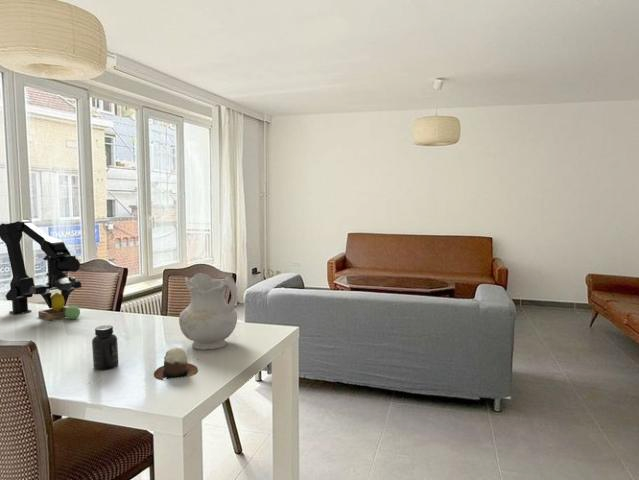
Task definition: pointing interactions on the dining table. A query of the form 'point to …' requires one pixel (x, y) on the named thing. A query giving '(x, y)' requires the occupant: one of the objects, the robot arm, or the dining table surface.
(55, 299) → the lemon
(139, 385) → the dining table surface
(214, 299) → the ceramic pitcher
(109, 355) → the supplement bottle
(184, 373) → the brown brimmed hat
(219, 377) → the dining table surface
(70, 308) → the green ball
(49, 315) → the walnut tray
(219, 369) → the dining table surface
